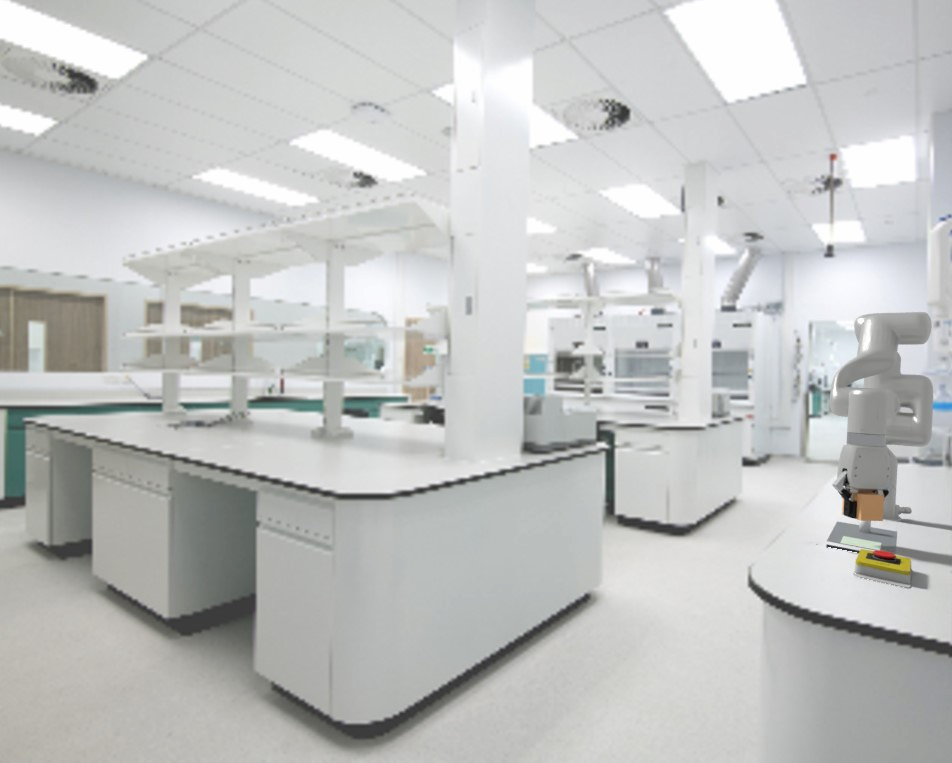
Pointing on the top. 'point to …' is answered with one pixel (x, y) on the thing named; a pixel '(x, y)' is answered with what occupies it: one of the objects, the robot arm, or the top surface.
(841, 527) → the base plate
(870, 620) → the top surface
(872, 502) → the tan wooden cube
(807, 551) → the top surface
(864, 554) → the emergency button
